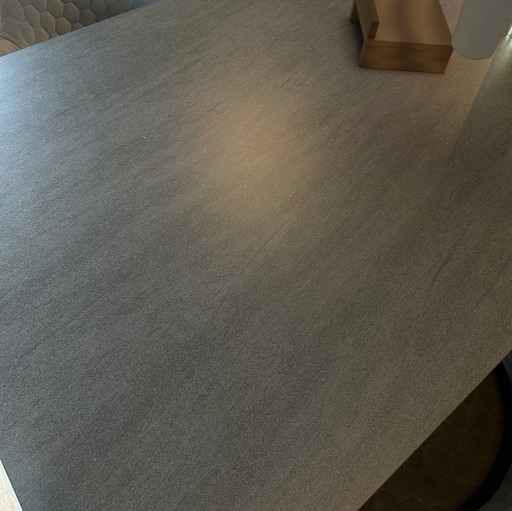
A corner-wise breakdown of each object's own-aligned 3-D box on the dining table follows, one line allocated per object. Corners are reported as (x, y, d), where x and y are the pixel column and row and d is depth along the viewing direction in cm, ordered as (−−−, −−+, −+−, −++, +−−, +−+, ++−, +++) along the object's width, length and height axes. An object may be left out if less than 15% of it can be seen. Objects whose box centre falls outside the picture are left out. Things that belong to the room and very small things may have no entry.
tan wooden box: (427, 24, 109) (443, -21, 102) (443, 73, 101) (462, 28, 94) (348, 17, 108) (360, -28, 101) (358, 67, 100) (372, 21, 93)
